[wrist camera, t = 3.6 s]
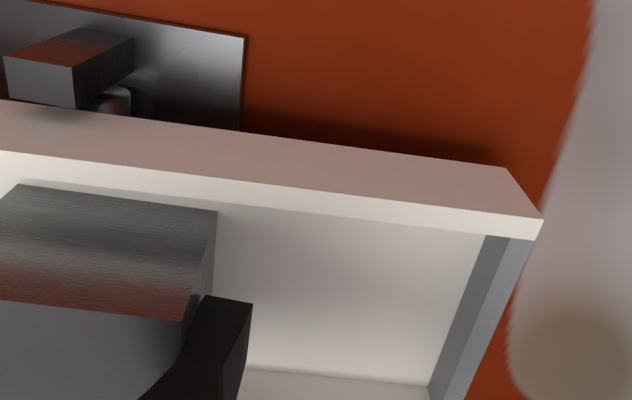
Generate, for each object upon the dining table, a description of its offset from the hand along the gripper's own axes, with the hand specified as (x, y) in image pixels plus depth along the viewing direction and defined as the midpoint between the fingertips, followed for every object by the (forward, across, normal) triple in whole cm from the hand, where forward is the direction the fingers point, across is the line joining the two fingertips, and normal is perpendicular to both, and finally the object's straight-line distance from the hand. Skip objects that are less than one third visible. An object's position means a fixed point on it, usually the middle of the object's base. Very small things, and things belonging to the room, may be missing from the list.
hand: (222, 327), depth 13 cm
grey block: (+1, +3, 0) cm, 3 cm away
